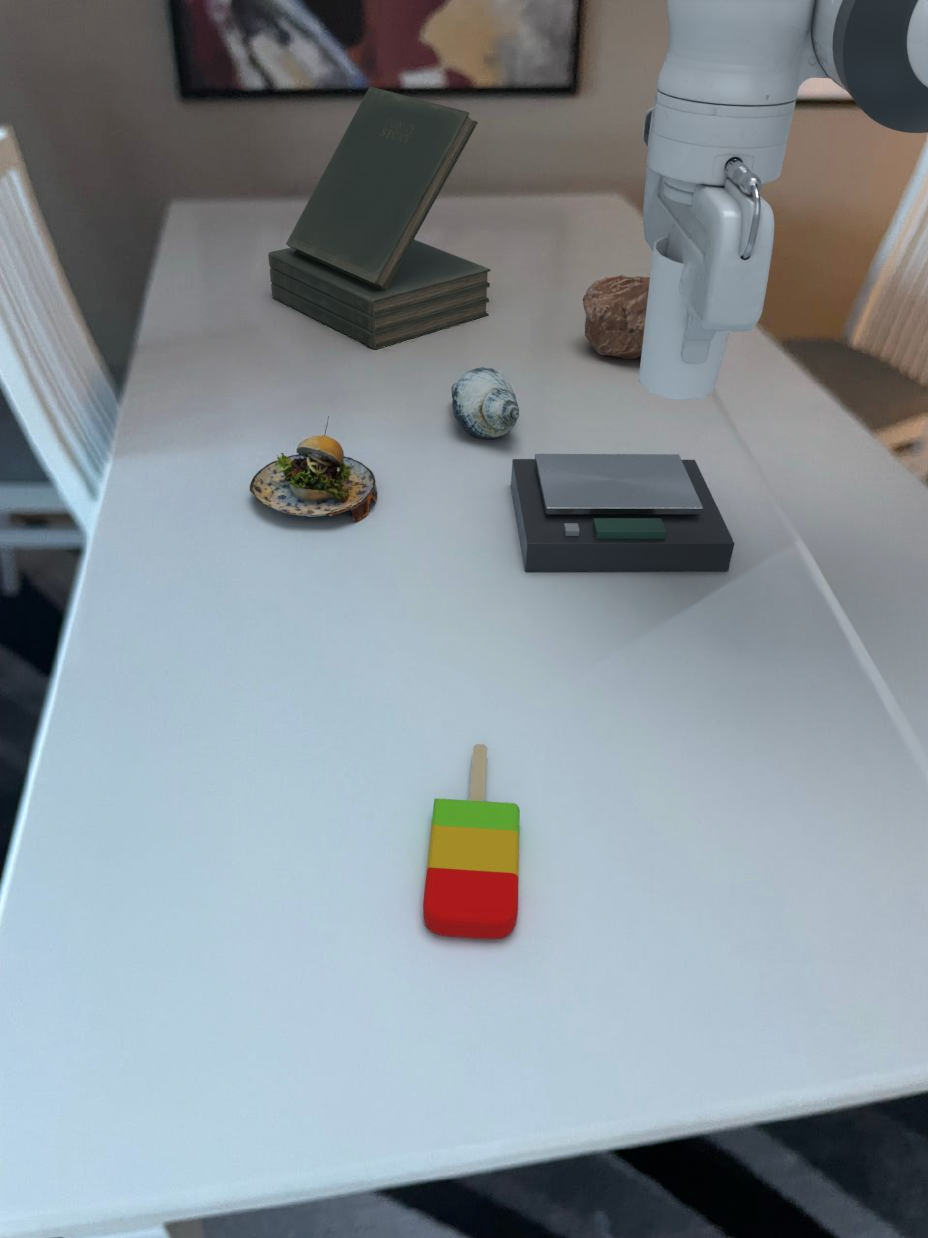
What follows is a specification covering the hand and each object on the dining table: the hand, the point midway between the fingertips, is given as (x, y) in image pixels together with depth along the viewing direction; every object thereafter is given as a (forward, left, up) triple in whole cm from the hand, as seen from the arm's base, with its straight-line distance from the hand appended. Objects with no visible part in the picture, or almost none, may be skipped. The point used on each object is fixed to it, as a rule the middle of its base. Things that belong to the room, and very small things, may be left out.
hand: (682, 344), depth 74 cm
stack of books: (+24, -64, -21) cm, 72 cm away
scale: (+1, -8, -21) cm, 23 cm away
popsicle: (+16, +29, -21) cm, 39 cm away
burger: (+29, -13, -21) cm, 39 cm away
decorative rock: (-8, -49, -21) cm, 54 cm away
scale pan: (+1, -10, -18) cm, 20 cm away
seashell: (+12, -28, -21) cm, 38 cm away
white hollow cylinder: (0, 0, -3) cm, 3 cm away
